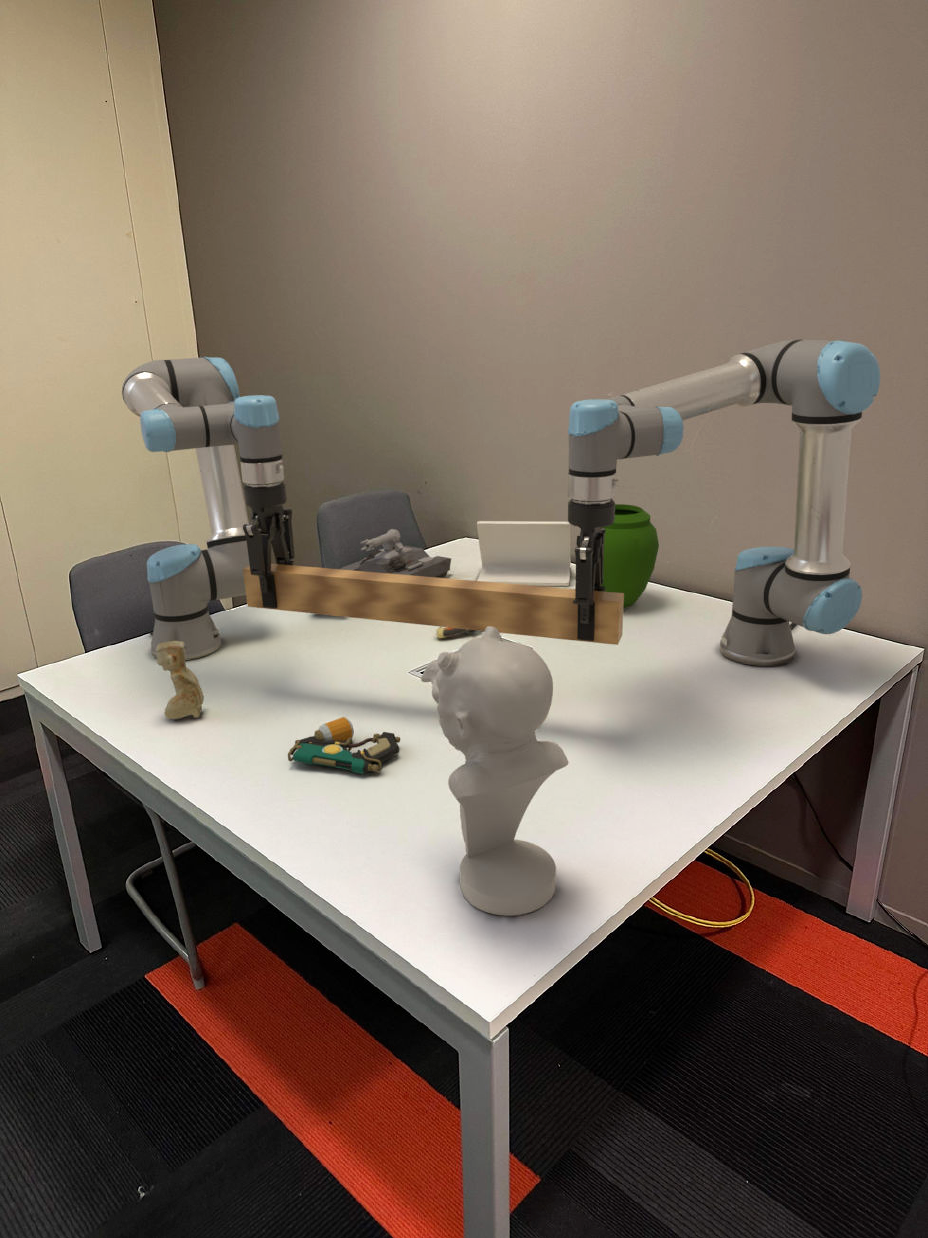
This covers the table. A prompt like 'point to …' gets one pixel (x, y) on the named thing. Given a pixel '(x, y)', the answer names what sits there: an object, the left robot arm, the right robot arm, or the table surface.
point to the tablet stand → (525, 552)
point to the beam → (438, 602)
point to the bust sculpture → (497, 766)
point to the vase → (629, 553)
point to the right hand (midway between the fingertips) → (588, 633)
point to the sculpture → (180, 681)
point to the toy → (399, 558)
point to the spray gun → (344, 748)
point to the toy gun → (449, 631)
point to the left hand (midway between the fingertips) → (277, 602)
